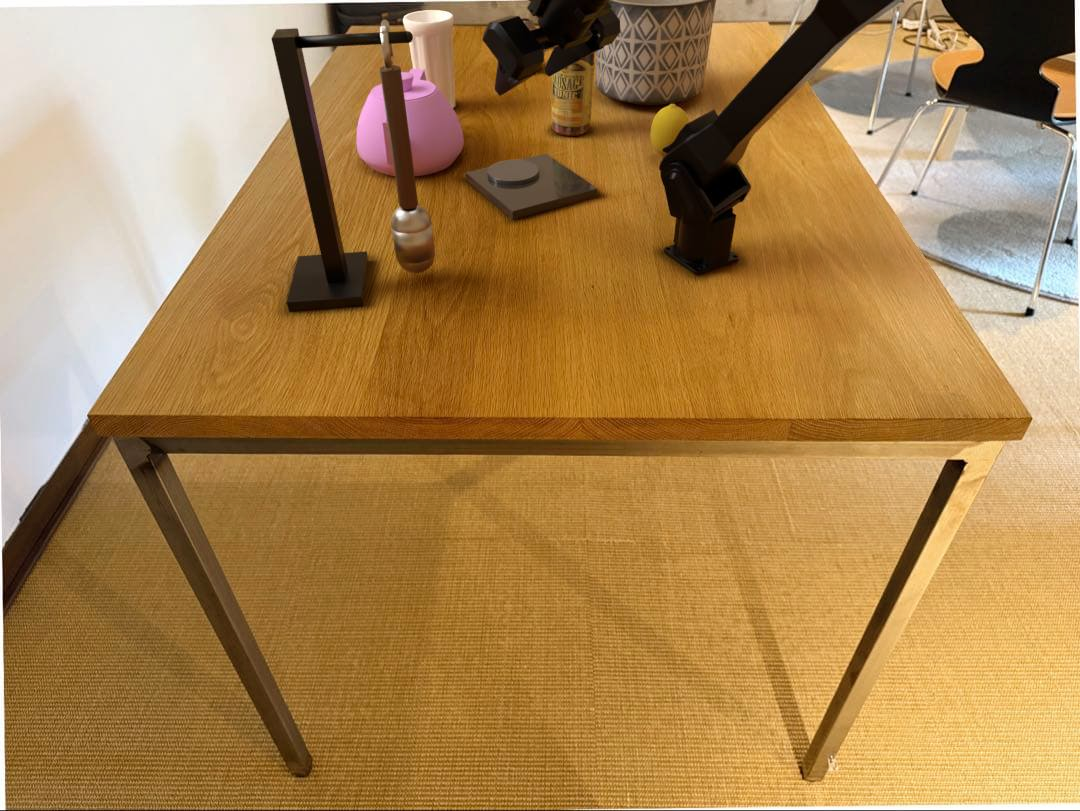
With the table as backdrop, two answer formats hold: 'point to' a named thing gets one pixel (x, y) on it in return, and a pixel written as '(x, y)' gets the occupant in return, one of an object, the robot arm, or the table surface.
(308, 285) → the hanger
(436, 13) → the cup
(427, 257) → the silver tipped brown rod
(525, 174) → the hob
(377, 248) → the table surface
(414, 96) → the teapot
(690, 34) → the planter
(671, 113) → the lemon
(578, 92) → the sauce bottle
